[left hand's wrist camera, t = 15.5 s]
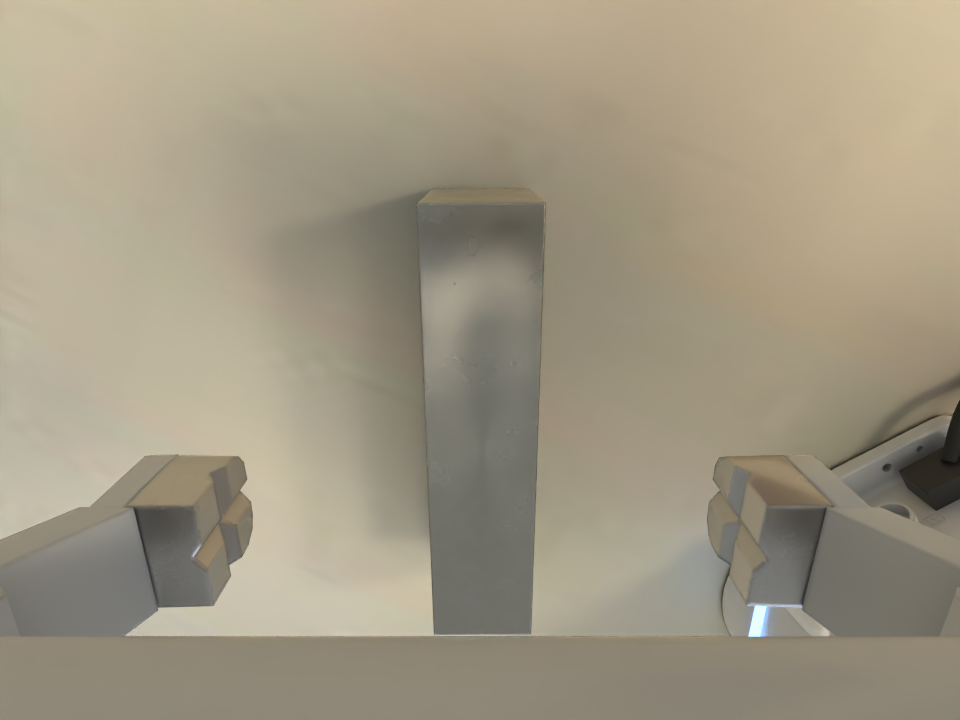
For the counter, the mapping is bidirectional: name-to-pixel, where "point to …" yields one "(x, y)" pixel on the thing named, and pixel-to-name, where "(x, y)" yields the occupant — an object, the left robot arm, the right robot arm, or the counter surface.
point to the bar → (481, 401)
